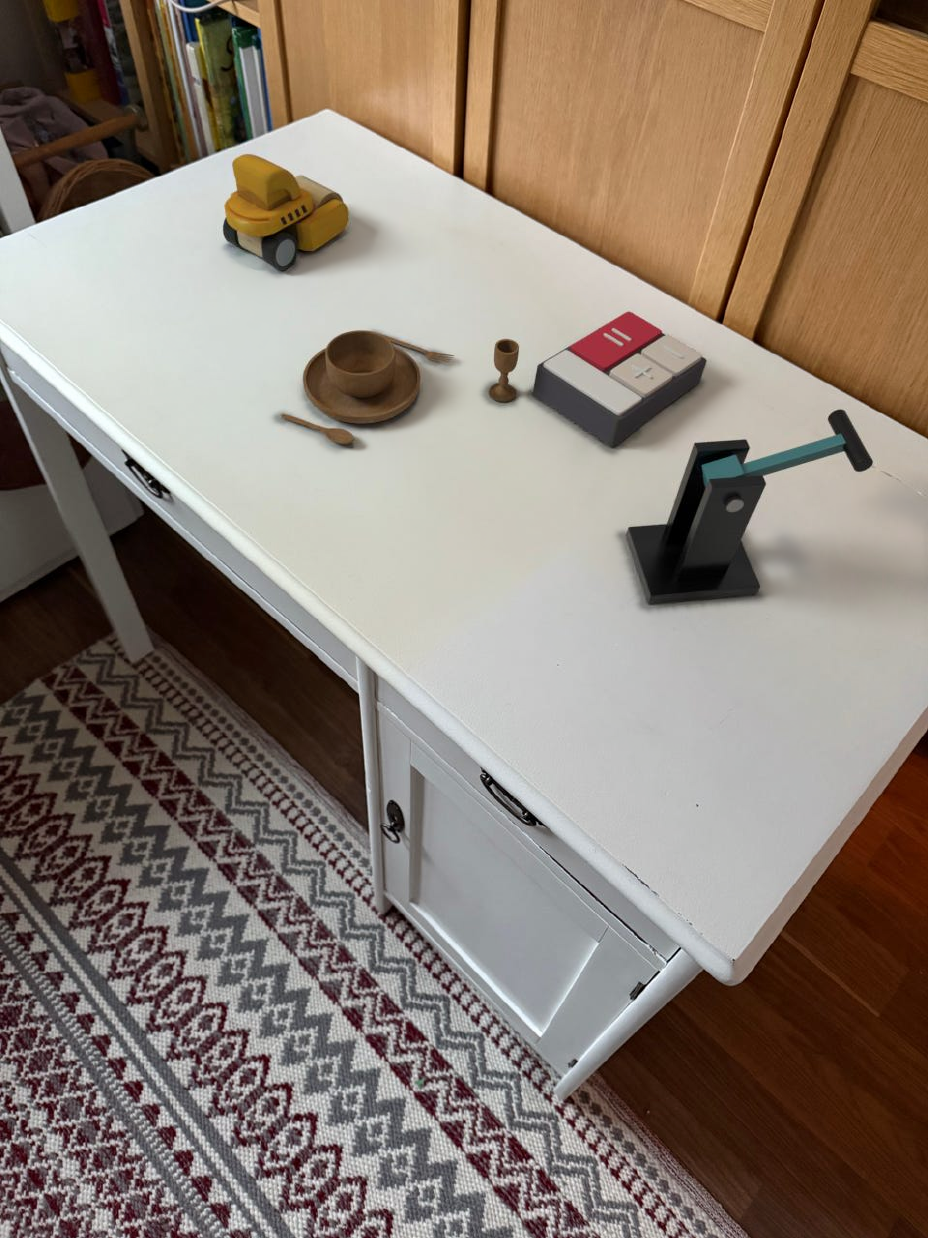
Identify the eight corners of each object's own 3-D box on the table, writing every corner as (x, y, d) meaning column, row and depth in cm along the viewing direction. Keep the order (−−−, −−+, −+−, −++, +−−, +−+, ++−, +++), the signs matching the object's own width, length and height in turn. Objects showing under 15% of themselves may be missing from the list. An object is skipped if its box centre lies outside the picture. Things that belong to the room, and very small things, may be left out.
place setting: (359, 324, 100) (357, 276, 95) (522, 387, 95) (528, 340, 90) (266, 418, 91) (258, 371, 86) (441, 493, 86) (443, 447, 81)
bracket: (729, 527, 85) (773, 423, 74) (756, 594, 80) (807, 495, 70) (625, 535, 84) (655, 431, 73) (647, 604, 79) (683, 504, 69)
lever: (844, 423, 74) (846, 402, 72) (872, 472, 71) (874, 452, 69) (697, 468, 76) (695, 449, 74) (717, 518, 73) (715, 500, 71)
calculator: (711, 353, 94) (621, 414, 87) (699, 387, 97) (612, 448, 90) (628, 304, 98) (536, 359, 91) (619, 338, 101) (530, 393, 94)
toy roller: (356, 229, 110) (351, 143, 102) (270, 282, 103) (257, 194, 95) (303, 202, 113) (294, 116, 105) (217, 252, 106) (199, 163, 98)
